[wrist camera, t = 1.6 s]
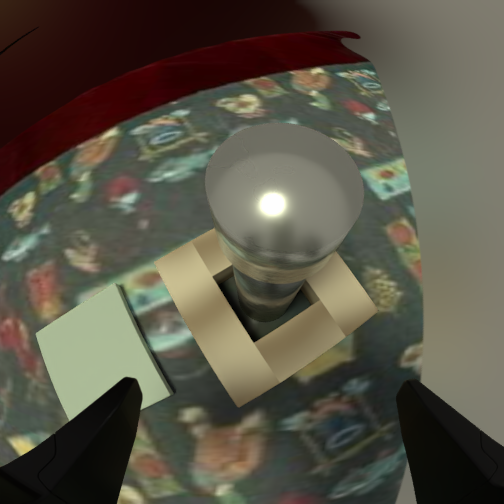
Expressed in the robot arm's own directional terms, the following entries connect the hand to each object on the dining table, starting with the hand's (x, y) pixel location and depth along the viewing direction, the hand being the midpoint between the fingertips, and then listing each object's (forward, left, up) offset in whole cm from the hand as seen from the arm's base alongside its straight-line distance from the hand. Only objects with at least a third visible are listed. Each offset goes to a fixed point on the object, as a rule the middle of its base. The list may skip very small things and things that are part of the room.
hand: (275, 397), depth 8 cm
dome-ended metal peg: (+5, -4, -12) cm, 14 cm away
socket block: (+5, -4, -12) cm, 14 cm away
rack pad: (+7, +11, -12) cm, 18 cm away
